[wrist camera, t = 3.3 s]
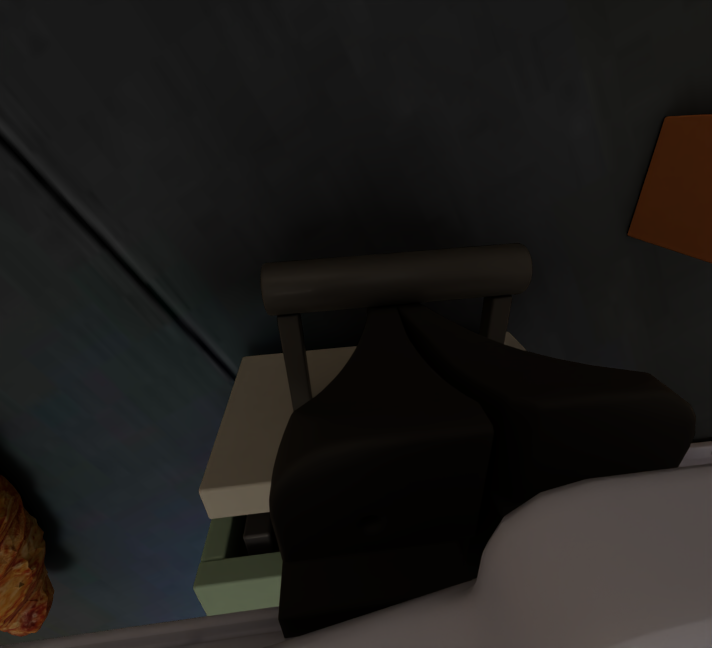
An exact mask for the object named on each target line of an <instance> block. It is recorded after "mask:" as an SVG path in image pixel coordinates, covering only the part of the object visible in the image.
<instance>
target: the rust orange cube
mask: <svg viewBox="0 0 712 648" xmlns="http://www.w3.org/2000/svg"><path fill="white" fill-rule="evenodd" d="M628 236H630V237H633V238H636V239H639V240H642V241H645V242H648V243H651V244H655V245H658V246H661V247H664V248H667V249H670V250H673V251H676V252H679V253H682V254H685V255H688V256H691V257H694V258H697V259H700V260H703V261H706V262H709V263H712V114H701V115H683V116H668V117H665V119H664V122H663V125H662V128H661V131H660V135H659V138H658V141H657V144H656V147H655V150H654V153H653V156H652V160H651V163H650V166H649V169H648V172H647V175H646V178H645V181H644V184H643V188H642V191H641V194H640V197H639V200H638V203H637V206H636V209H635V213H634V216H633V219H632V222H631V225H630V228H629V231H628Z"/></svg>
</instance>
